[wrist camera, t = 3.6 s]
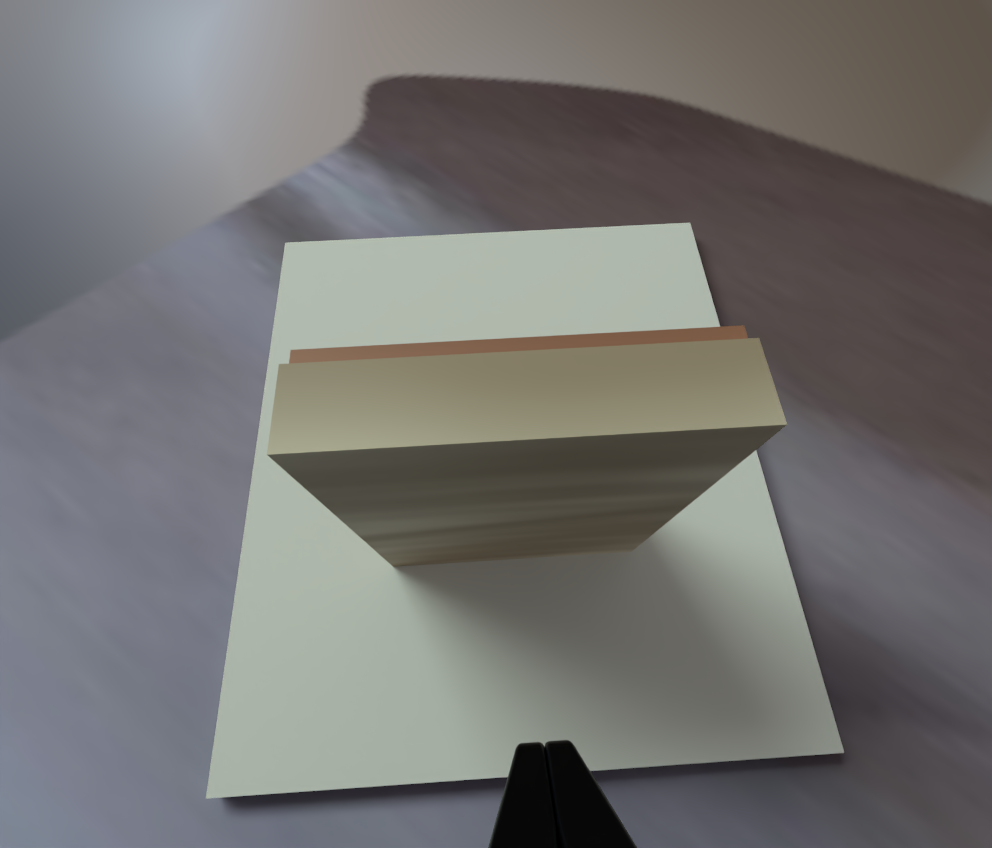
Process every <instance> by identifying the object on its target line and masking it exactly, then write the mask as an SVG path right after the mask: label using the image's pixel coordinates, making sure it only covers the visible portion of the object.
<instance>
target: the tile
mask: <svg viewBox="0 0 992 848" xmlns="http://www.w3.org/2000/svg"><path fill="white" fill-rule="evenodd" d="M786 425H787V423H786V420H785V416H784V413H783V410H782V407H781V404H780V401H779V398H778V395H777V392H776V389H775V386H774V383H773V380H772V377H771V373H770V370H769V367H768V364H767V361H766V358H765V355H764V352H763V349H762V346H761V343H760V340H759V338H749V339H748V337H747V334H746V330H745V327H744V325H743V326H724V327H706V328H687V329H668V330H650V331H631V332H613V333H594V334H576V335H557V336H539V337H520V338H501V339H483V340H464V341H446V342H427V343H409V344H390V345H371V346H353V347H334V348H316V349H297V350H291V351H290V359H289V364H279V367H278V375H277V382H276V390H275V397H274V405H273V412H272V420H271V427H270V435H269V442H268V450H267V455H268V456H269V457H270V458H271V459H272V460H273V461H275V462H276V463H277V464H278V465H279V466H280V467H281V468H282V469H284V470H285V471H286V472H287V473H288V474H289V475H290V476H291V477H293V478H294V479H295V480H296V481H297V482H298V483H299V484H300V485H302V486H303V487H304V488H305V489H306V490H307V491H308V492H309V493H311V494H312V495H313V496H314V497H315V498H316V499H317V500H318V501H320V502H321V503H322V504H323V505H324V506H325V507H326V508H328V509H329V510H330V511H331V512H332V513H333V514H334V515H335V516H337V517H338V518H339V519H340V520H341V521H342V522H343V523H344V524H346V525H347V526H348V527H349V528H350V529H351V530H352V531H353V532H355V533H356V534H357V535H358V536H359V537H360V538H361V539H362V540H364V541H365V542H366V543H367V544H368V545H369V546H370V547H371V548H373V549H374V550H375V551H376V552H377V553H378V554H379V555H380V556H382V557H383V558H384V559H385V560H386V561H387V562H388V563H390V564H391V565H392V566H393V567H396V566H412V565H427V564H443V563H459V562H475V561H491V560H507V559H523V558H539V557H555V556H571V555H587V554H602V553H618V552H632V551H633V550H634V549H636V548H637V547H638V546H639V545H640V544H642V543H643V542H644V541H645V540H647V539H648V538H649V537H650V536H651V535H653V534H654V533H655V532H656V531H658V530H659V529H660V528H661V527H662V526H664V525H665V524H666V523H667V522H669V521H670V520H671V519H672V518H673V517H675V516H676V515H677V514H678V513H680V512H681V511H682V510H683V509H684V508H686V507H687V506H688V505H689V504H691V503H692V502H693V501H694V500H695V499H697V498H698V497H699V496H700V495H702V494H703V493H704V492H705V491H706V490H708V489H709V488H710V487H711V486H713V485H714V484H715V483H716V482H717V481H719V480H720V479H721V478H722V477H724V476H725V475H726V474H727V473H728V472H730V471H731V470H732V469H733V468H735V467H736V466H737V465H738V464H739V463H741V462H742V461H743V460H744V459H746V458H747V457H748V456H749V455H750V454H752V453H753V452H754V451H755V450H757V449H758V448H759V447H760V446H761V445H763V444H764V443H765V442H766V441H768V440H769V439H770V438H771V437H772V436H774V435H775V434H776V433H777V432H779V431H780V430H781V429H782V428H783V427H785V426H786Z"/></svg>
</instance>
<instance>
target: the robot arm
mask: <svg viewBox="0 0 992 848" xmlns="http://www.w3.org/2000/svg"><path fill="white" fill-rule="evenodd" d="M488 848H637V847H636V845H635V844H634V842H633V840H632V839H631V837H630V835H629V834H628V832H627V830H626V829H625V827H624V826H623V824H622V822H621V821H620V819H619V817H618V816H617V814H616V813H615V811H614V809H613V808H612V806H611V804H610V803H609V801H608V799H607V798H606V796H605V795H604V793H603V791H602V790H601V788H600V786H599V785H598V783H597V782H596V780H595V778H594V777H593V775H592V773H591V772H590V770H589V768H588V767H587V765H586V764H585V762H584V760H583V759H582V757H581V755H580V754H579V752H578V751H577V749H576V747H575V746H574V744H573V743H572V742H571V741H569V740H558V741H548V742H546V743H545V745H543V744H542V743H541V742H529V743H520V744H518V745H517V747H516V749H515V752H514V756H513V760H512V763H511V767H510V771H509V774H508V778H507V782H506V785H505V789H504V793H503V796H502V800H501V804H500V807H499V811H498V814H497V818H496V822H495V825H494V829H493V833H492V836H491V840H490V844H489V847H488Z"/></svg>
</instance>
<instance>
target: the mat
mask: <svg viewBox="0 0 992 848" xmlns="http://www.w3.org/2000/svg"><path fill="white" fill-rule="evenodd" d="M706 327H720V324H719V321H718V317H717V314H716V310H715V307H714V304H713V300H712V297H711V293H710V290H709V286H708V283H707V279H706V276H705V273H704V269H703V266H702V262H701V259H700V255H699V252H698V249H697V245H696V242H695V238H694V235H693V231H692V228H691V225H690V223H675V224H655V225H635V226H615V227H595V228H575V229H554V230H534V231H514V232H494V233H474V234H453V235H433V236H413V237H393V238H373V239H353V240H332V241H312V242H292V243H285V249H284V256H283V263H282V270H281V277H280V284H279V291H278V298H277V305H276V312H275V319H274V326H273V333H272V340H271V347H270V354H269V361H268V368H267V375H266V382H265V389H264V396H263V403H262V410H261V417H260V424H259V431H258V438H257V445H256V452H255V459H254V466H253V473H252V480H251V487H250V494H249V501H248V508H247V515H246V522H245V529H244V536H243V543H242V550H241V557H240V564H239V571H238V578H237V585H236V592H235V599H234V606H233V613H232V620H231V627H230V634H229V641H228V648H227V655H226V662H225V669H224V676H223V683H222V690H221V697H220V704H219V711H218V718H217V725H216V732H215V739H214V746H213V753H212V760H211V767H210V774H209V781H208V788H207V794H206V799H207V798H221V797H235V796H249V795H263V794H277V793H291V792H305V791H319V790H333V789H347V788H361V787H375V786H389V785H403V784H417V783H431V782H444V781H458V780H472V779H486V778H500V777H508V774H509V771H510V767H511V763H512V760H513V756H514V752H515V749H516V747H517V745H518V744H520V743H529V742H541V743H542V744H543V745H545V743H546V742H548V741H558V740H569V741H571V742H572V743H573V744H574V746H575V747H576V749H577V751H578V752H579V754H580V755H581V757H582V759H583V760H584V762H585V764H586V765H587V767H588V768H589V770H590V771H598V770H612V769H626V768H640V767H654V766H668V765H682V764H695V763H709V762H723V761H737V760H751V759H765V758H779V757H793V756H807V755H821V754H835V753H844V750H843V746H842V743H841V740H840V736H839V733H838V729H837V726H836V722H835V719H834V715H833V712H832V709H831V705H830V702H829V698H828V695H827V691H826V688H825V685H824V681H823V678H822V674H821V671H820V667H819V664H818V661H817V657H816V654H815V650H814V647H813V643H812V640H811V637H810V633H809V630H808V626H807V623H806V619H805V616H804V612H803V609H802V606H801V602H800V599H799V595H798V592H797V588H796V585H795V582H794V578H793V575H792V571H791V568H790V564H789V561H788V558H787V554H786V551H785V547H784V544H783V540H782V537H781V534H780V530H779V527H778V523H777V520H776V516H775V513H774V509H773V506H772V503H771V499H770V496H769V492H768V489H767V485H766V482H765V479H764V475H763V472H762V468H761V465H760V461H759V458H758V455H757V451H756V450H755V451H754V452H753V453H752V454H750V455H749V456H748V457H747V458H746V459H744V460H743V461H742V462H741V463H739V464H738V465H737V466H736V467H735V468H733V469H732V470H731V471H730V472H728V473H727V474H726V475H725V476H724V477H722V478H721V479H720V480H719V481H717V482H716V483H715V484H714V485H713V486H711V487H710V488H709V489H708V490H706V491H705V492H704V493H703V494H702V495H700V496H699V497H698V498H697V499H695V500H694V501H693V502H692V503H691V504H689V505H688V506H687V507H686V508H684V509H683V510H682V511H681V512H680V513H678V514H677V515H676V516H675V517H673V518H672V519H671V520H670V521H669V522H667V523H666V524H665V525H664V526H662V527H661V528H660V529H659V530H658V531H656V532H655V533H654V534H653V535H651V536H650V537H649V538H648V539H647V540H645V541H644V542H643V543H642V544H640V545H639V546H638V547H637V548H636V549H634V550H633V551H632V552H618V553H602V554H587V555H571V556H555V557H539V558H523V559H507V560H491V561H475V562H459V563H443V564H427V565H412V566H396V567H393V566H392V565H391V564H390V563H388V562H387V561H386V560H385V559H384V558H383V557H382V556H380V555H379V554H378V553H377V552H376V551H375V550H374V549H373V548H371V547H370V546H369V545H368V544H367V543H366V542H365V541H364V540H362V539H361V538H360V537H359V536H358V535H357V534H356V533H355V532H353V531H352V530H351V529H350V528H349V527H348V526H347V525H346V524H344V523H343V522H342V521H341V520H340V519H339V518H338V517H337V516H335V515H334V514H333V513H332V512H331V511H330V510H329V509H328V508H326V507H325V506H324V505H323V504H322V503H321V502H320V501H318V500H317V499H316V498H315V497H314V496H313V495H312V494H311V493H309V492H308V491H307V490H306V489H305V488H304V487H303V486H302V485H300V484H299V483H298V482H297V481H296V480H295V479H294V478H293V477H291V476H290V475H289V474H288V473H287V472H286V471H285V470H284V469H282V468H281V467H280V466H279V465H278V464H277V463H276V462H275V461H273V460H272V459H271V458H270V457H269V456H268V455H267V450H268V442H269V435H270V427H271V420H272V412H273V405H274V397H275V390H276V382H277V375H278V367H279V364H289V359H290V351H291V350H297V349H316V348H334V347H353V346H371V345H390V344H409V343H427V342H446V341H464V340H483V339H501V338H520V337H539V336H557V335H576V334H594V333H613V332H631V331H650V330H668V329H687V328H706Z"/></svg>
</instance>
